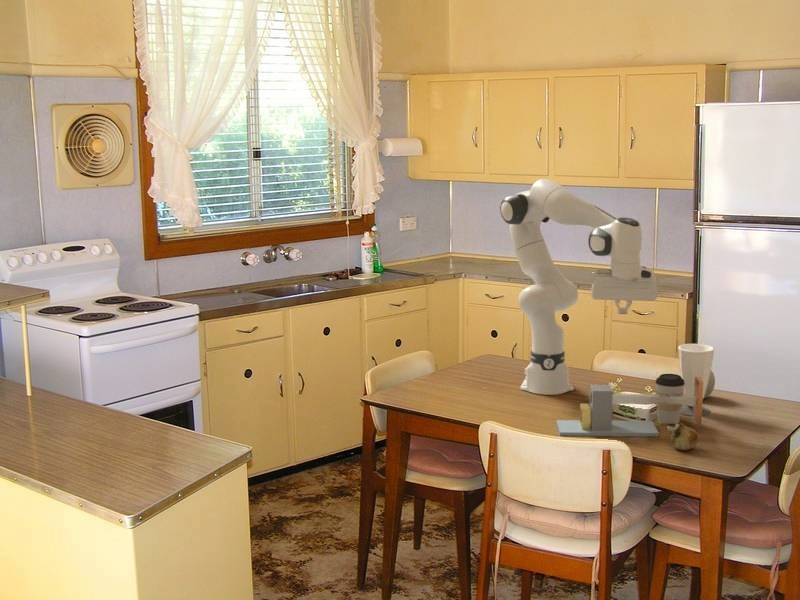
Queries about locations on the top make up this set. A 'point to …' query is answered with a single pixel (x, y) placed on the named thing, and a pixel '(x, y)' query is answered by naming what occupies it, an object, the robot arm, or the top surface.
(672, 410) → the coffee cup
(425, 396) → the top surface
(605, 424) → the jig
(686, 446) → the onion
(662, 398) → the shaft
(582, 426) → the block
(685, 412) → the cup
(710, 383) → the fruit
